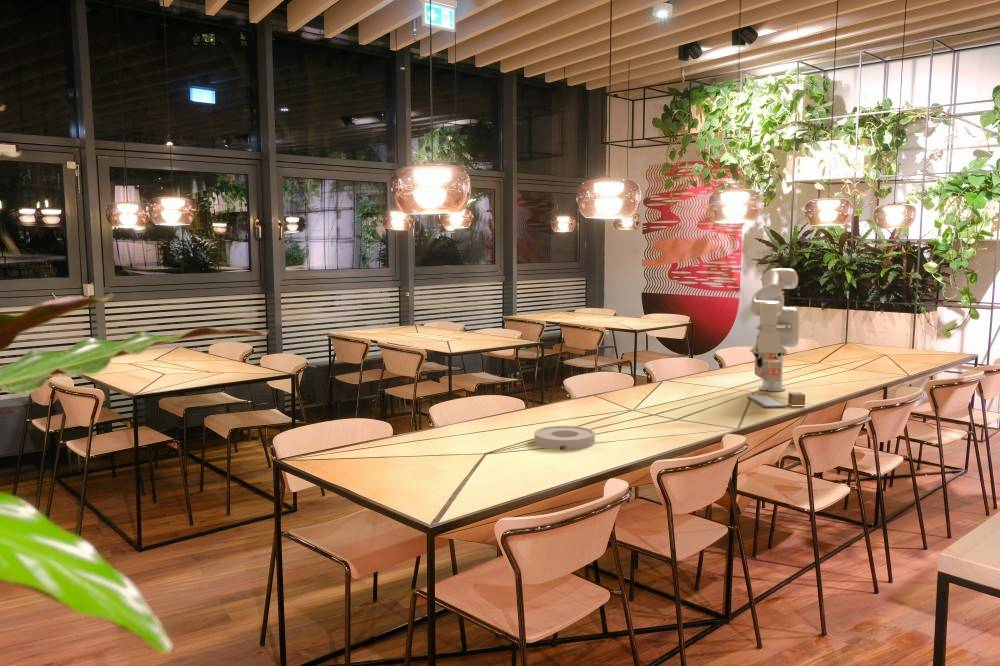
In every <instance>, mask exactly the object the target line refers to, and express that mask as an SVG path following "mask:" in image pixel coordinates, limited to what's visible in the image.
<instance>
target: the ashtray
mask: <svg viewBox="0 0 1000 666" xmlns="http://www.w3.org/2000/svg"><path fill="white" fill-rule="evenodd" d="M595 439H596V431H594V430H593V429H590V428H588V427H584V426H576V425H553V426H546V427H541V428H538V429H536V430H535V431H534V444H535V445H536V446H538V447H541V448H544V449H548V450H555V451H556V450H559V451H560V450H561V449H563V450H566V451H573V450H574V451H575V450H582V449H587V448H590V447H592V446H594V445H595Z"/></svg>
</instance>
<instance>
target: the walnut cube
mask: <svg viewBox="0 0 1000 666" xmlns="http://www.w3.org/2000/svg"><path fill="white" fill-rule="evenodd" d="M787 395H788V398H787V399H788V400H787V404H788V403H789V404H791V405H805V406H806V394H805V393H803V392H799V391H798V392H788V393H787ZM789 404H788V405H789Z"/></svg>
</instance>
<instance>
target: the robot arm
mask: <svg viewBox="0 0 1000 666" xmlns="http://www.w3.org/2000/svg"><path fill="white" fill-rule="evenodd" d="M798 284H799V277H798V274H797V271H796V270H795V269H793V268H771V269H768V270H767V271H766V272H765V273H763V274H762V276H761V285H762V287H761V288H759V290H757V291H755V293H754V294H753V296H752V297H751V303H750V313H751V315H752V316H754V317H759V325H757V326H756V330H758V331H757V333H756V340H755V341H756V342H755V345H754V346H753V347H752V348H751V349H750V350H749V351H750V353H751V354H752V355H753V356H754V358H755V357H756V358H757V365H758V367H761V364H762V359H761V356H762V353H775V359H777V360H779V361H780V362H781V375H780V382H767V381H765V380H764V379H762V384H761V385H759V386H758V388H759V390H762V391H766V390H768V392H783V391H785V390H786V387H785V386H784V385H783V371H784V369H783V367H784V366H783V364H784V363H783V362H784V356H783V353H784V352H786V351H785V349H784V348H795V347H797V345H798V344H799V338H800V337H799V334H800V313H799V310H798V309H797V308H796V307H790V306H789V307H788V306H787V307H786V306H785V297H784V295H783V294H782V290H783V289H784V290H792V289H793V290H794V289H796V288H797V286H798ZM755 350H756V351H757V352H758V353H756V352H755Z"/></svg>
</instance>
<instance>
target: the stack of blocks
mask: <svg viewBox="0 0 1000 666" xmlns="http://www.w3.org/2000/svg"><path fill="white" fill-rule="evenodd" d="M755 352H756V353H758V352H757V351H756V350H755ZM761 359H762V364H761V367H758V365H757V358H756V357H755V356H754V375H755V376H757V377H759V378H760V379H762V380H763V379H764V380H765V381H767V382H780V375H781V362H780V361H779V360H777V359H775V353H762V356H761Z"/></svg>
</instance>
